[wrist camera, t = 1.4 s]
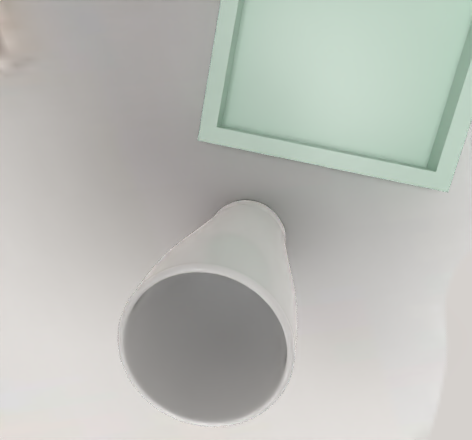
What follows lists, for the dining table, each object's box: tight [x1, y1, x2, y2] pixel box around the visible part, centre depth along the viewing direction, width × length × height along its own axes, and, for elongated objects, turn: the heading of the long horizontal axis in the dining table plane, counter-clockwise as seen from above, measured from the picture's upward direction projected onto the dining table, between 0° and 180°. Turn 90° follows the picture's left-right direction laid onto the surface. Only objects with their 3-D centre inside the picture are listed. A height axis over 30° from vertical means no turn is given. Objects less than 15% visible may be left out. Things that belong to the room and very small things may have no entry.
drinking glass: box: [118, 200, 297, 427], centre depth 23 cm, size 7×7×15 cm
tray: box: [198, 0, 472, 192], centre depth 25 cm, size 18×15×2 cm
